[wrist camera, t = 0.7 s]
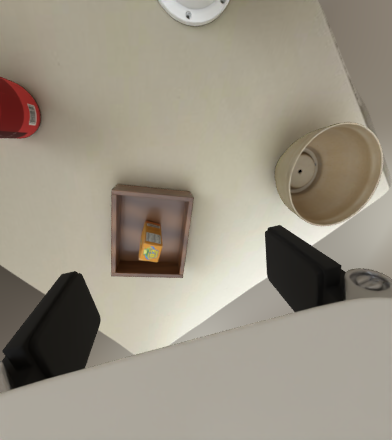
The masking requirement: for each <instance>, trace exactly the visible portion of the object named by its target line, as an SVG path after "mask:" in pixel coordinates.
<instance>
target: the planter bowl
mask: <svg viewBox="0 0 392 440" xmlns="http://www.w3.org/2000/svg"><path fill="white" fill-rule="evenodd" d="M382 169H383V152H382V148H381V145H380V142H379V140H378V139H377V137H376V136H375V134H374V133H373V132H372V131H371V130H370V129H368V128H367V127H365V126H364V125H361V124H358V123H352V122H346V123H338V124H334V125H331V126H328V127H325V128H321V129H318V130H315V131H313V132H310V133H308V134H306V135H305V136H303V137H301V138H300V139H298V140H297V141H296V142H294V143H293V144H292V145H291V146H290V147H289V148H288V149H287V150H286V151H285V153H284V154H283V155H282V156H281V158H280V159H279V161H278V162H277V165H276V168H275V181H276V187H277V191H278V193H279V195H280V197H281V199H282V201H283V202H284V204H285V205H286V206H287V207H288V208H289V209H290V210H291V211H292V212H294V213H295V214H296V215H297V216H298V217H300V218H301V219H302V220H304V221H306V222H307V223H310V224H312V225H316V226H331V225H335V224H338V223H341V222H343V221H345V220H347V219H349V218H350V217H352V216H353V215H355V214H356V213H357V212H358V211H360V210H361V209H362V208H363V207H364V206H365V205H366V203H367V202H368V201H369V200H370V198H371V197H372V195H373V194H374V192H375V190H376V188H377V186H378V183H379V181H380V178H381V174H382ZM299 170H301V171H302V172H301V173H298V171H299Z"/></svg>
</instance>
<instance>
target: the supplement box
mask: <svg viewBox="0 0 392 440" xmlns="http://www.w3.org/2000/svg"><path fill="white" fill-rule="evenodd" d="M162 247H163V244H162V234H161V224H158V223H154V222H150V221H145V223H144V227H143V231H142V234H141V241H140V249H139V260H143V261H151V262H158V260H159V257H160V253H161V250H162Z"/></svg>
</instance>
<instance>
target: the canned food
mask: <svg viewBox="0 0 392 440" xmlns="http://www.w3.org/2000/svg"><path fill="white" fill-rule="evenodd" d="M39 125H40V111H39V108H38V105H37V104H36V102H35V100H34V99H33V97H32V96H31V95H30V94H29V93H28V92H27V91H26V90H25V89H24V88H23V87H21V86H20V85H18V84H16V83H14V82H12V81H10V80H7V79H5V78H3V77H0V138H26V137H28V136H30V135H32V134H33V133H35V132H36V130H37V129H38V127H39Z"/></svg>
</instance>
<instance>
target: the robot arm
mask: <svg viewBox="0 0 392 440" xmlns="http://www.w3.org/2000/svg"><path fill="white" fill-rule="evenodd" d="M158 1H159V3H160V5H161V6H162V7H163V8H164V10H165V11H166V12H167V13H168V14H169V15H170V16H171V17H173V18H174V19H175V20H177V21H179V22H180V23H183V24H186V25H189V26H201V25H205V24H208V23H210V22H212V21H213V20H215V19H216V18H217V17H219V15H220V14H221V13H222V12H223V11H224V9H225V8H226V6H227V4H228V3H229V1H230V0H158ZM221 2H222V3H223V4H222V3H221ZM186 17H189V19H188V18H186ZM265 243H266V262H267V276H268V279H269V281H270V282H271V283H272V284H273V286H274V287H275V288H276V289H277V291H278V292H279V293H280V294H281V296H282V297H283V298H284V299H285V301H286V302H287V303H288V304H289V306H290V307H291V308H292V309H293V310H294V313H290V314H287V315H283V316H279V317H275V318H271V319H268V320H264V321H260V322H256V323H252V324H249V325H245V326H242V327H237V328H234V329H230V330H226V331H222V332H219V333H215V334H211V335H207V336H204V337H200V338H196V339H192V340H189V341H185V342H181V343H177V344H174V345H170V346H166V347H163V348H159V349H155V350H151V351H148V352H144V353H140V354H137V355H133V356H129V357H125V358H122V359H118V360H114V361H111V362H107V363H104V364H100V365H97V366H92V367H89V368H85V366H86V363H87V360H88V357H89V354H90V351H91V348H92V346H93V342H94V340H95V337H96V334H97V331H98V328H99V325H100V315H99V313H98V310H97V308H96V306H95V303H94V301H93V299H92V296H91V294H90V292H89V289H88V287H87V285H86V283H85V280H84V278H83V276H82V274H80V273H79V274H78V273H77V272H76V271H74V272H70V273H65V274H62V275H61V276H60V277H59V278H58V280H57V281H56V282H55V283H54V285H53V286H52V287H51V289H50V290H49V291H48V292H47V294H46V295H45V296H44V298H43V299H42V300H41V302H40V303H39V304H38V305H37V307H36V308H35V309H34V311H33V312H32V313H31V314H30V316H29V317H28V318H27V320H26V321H25V322H24V323H23V325H22V326H21V327H20V329H19V330H18V331H17V332H16V334H15V335H14V336H13V338H12V339H11V340H10V342H9V343H8V344H7V345H6V347H5V348H4V349H3V353H4V354H5V358H4V359H3V360H2V361H0V440H392V279H391V278H390V277H388V276H386V275H384V274H383V273H380V272H377V271H374V270H369V269H361V268H358V269H351V270H348V271H347V272H345V271H343V270H342V269H341V265H340V264H338V263H337V262H335V261H334V260H332V259H331V258H329V257H327V256H326V255H325V254H323V253H322V252H320V251H318V250H317V249H315V248H314V247H312V246H311V245H309V244H308V243H306V242H305V241H303V240H302V239H300V238H299V237H297V236H296V235H294V234H293V233H291V232H290V231H288V230H287V229H285V228H284V227H282V226H280V225H278V226H274V227H269V228H268V231H266V232H265Z"/></svg>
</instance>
